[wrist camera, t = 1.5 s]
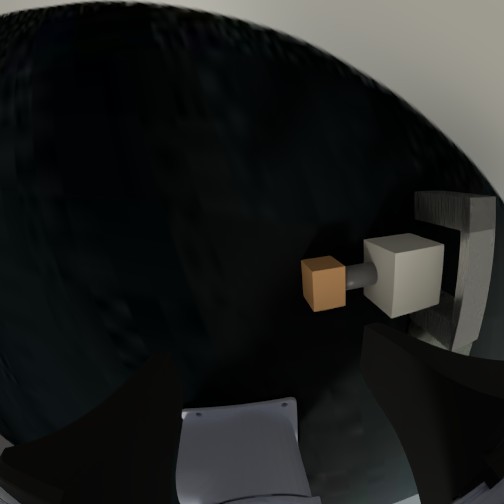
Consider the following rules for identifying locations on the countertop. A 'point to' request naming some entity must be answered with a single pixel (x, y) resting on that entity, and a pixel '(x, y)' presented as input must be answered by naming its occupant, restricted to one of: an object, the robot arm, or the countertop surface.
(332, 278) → the plug
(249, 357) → the countertop surface
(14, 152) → the countertop surface
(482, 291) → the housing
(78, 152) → the countertop surface
